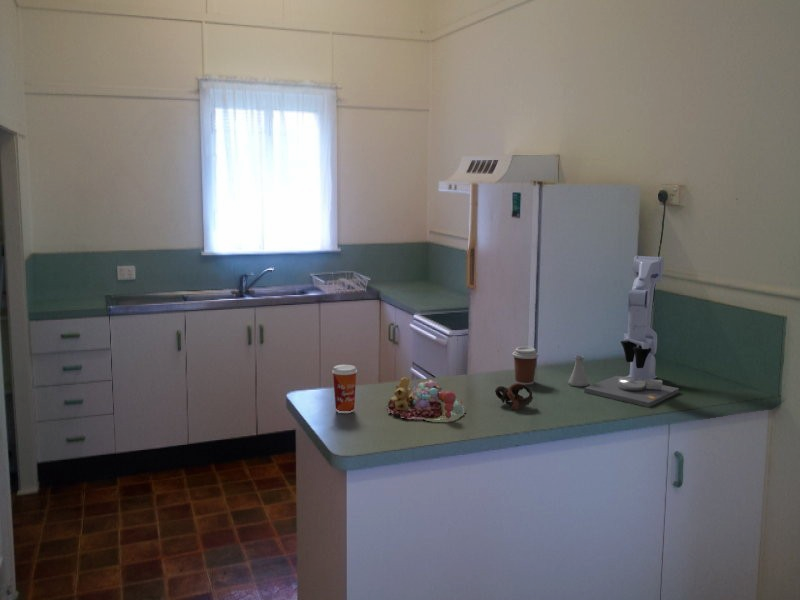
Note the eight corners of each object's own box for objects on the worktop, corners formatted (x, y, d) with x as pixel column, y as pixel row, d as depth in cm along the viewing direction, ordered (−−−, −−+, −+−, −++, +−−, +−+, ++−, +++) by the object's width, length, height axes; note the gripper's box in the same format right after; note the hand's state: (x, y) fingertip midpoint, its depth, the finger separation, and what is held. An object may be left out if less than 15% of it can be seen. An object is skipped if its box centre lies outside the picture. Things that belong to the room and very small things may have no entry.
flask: (587, 381, 269) (588, 354, 267) (590, 387, 261) (591, 359, 260) (566, 381, 269) (567, 353, 267) (569, 387, 262) (570, 358, 260)
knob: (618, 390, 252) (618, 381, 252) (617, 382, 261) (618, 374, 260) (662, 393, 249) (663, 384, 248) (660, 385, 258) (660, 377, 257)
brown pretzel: (530, 402, 246) (536, 385, 241) (525, 423, 239) (532, 405, 234) (494, 391, 248) (500, 373, 242) (488, 411, 240) (494, 393, 235)
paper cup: (338, 416, 230) (337, 371, 228) (328, 409, 237) (328, 365, 234) (361, 412, 234) (361, 368, 231) (351, 405, 240) (351, 363, 238)
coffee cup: (541, 381, 269) (542, 348, 267) (531, 387, 262) (532, 353, 259) (517, 377, 274) (518, 344, 272) (507, 383, 266) (508, 349, 264)
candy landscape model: (380, 421, 227) (380, 391, 226) (392, 397, 250) (392, 370, 249) (464, 425, 224) (464, 395, 222) (468, 401, 247) (469, 373, 245)
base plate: (616, 379, 272) (616, 374, 271) (678, 392, 256) (679, 387, 256) (584, 392, 256) (584, 387, 256) (648, 407, 240) (649, 402, 240)
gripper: (616, 321, 258) (614, 359, 261) (635, 330, 244) (633, 371, 247) (635, 320, 259) (633, 359, 262) (656, 329, 245) (653, 370, 248)
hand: (634, 364), depth 254 cm, fingers open, 7 cm apart
